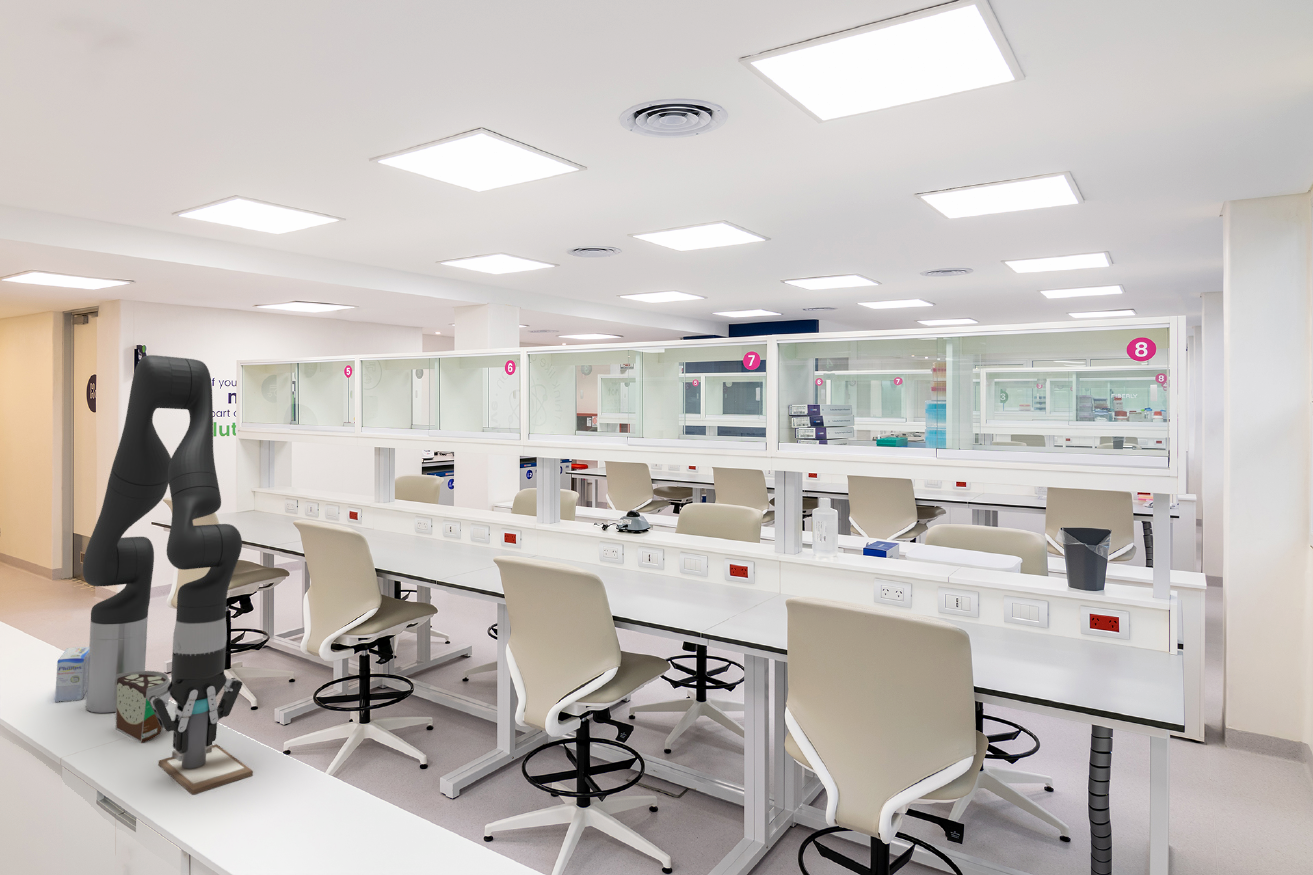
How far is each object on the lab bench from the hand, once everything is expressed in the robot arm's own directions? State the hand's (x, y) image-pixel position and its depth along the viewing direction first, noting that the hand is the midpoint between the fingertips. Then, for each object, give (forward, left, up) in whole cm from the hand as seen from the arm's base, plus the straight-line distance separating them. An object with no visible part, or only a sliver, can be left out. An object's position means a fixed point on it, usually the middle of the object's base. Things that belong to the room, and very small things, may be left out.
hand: (194, 747), depth 123 cm
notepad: (+1, +2, -4) cm, 4 cm away
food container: (-22, +1, -4) cm, 22 cm away
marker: (0, 0, -3) cm, 3 cm away
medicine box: (-50, -3, -4) cm, 50 cm away
